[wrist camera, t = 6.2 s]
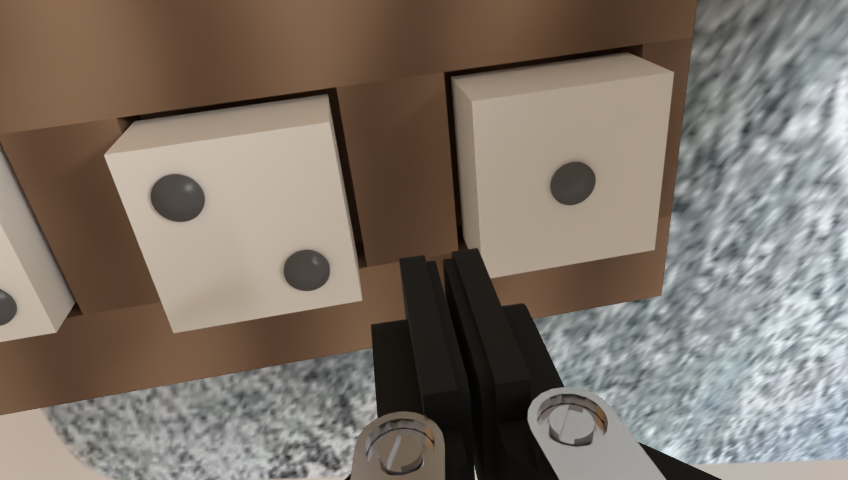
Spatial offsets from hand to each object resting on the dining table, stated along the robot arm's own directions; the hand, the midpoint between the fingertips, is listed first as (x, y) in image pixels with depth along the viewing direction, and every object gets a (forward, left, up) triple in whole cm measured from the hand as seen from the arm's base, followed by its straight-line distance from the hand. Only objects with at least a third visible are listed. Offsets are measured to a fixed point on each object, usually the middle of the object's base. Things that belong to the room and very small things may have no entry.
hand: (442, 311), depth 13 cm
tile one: (-5, 0, -9) cm, 10 cm away
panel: (+5, 0, -11) cm, 12 cm away
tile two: (+5, 0, -9) cm, 10 cm away
